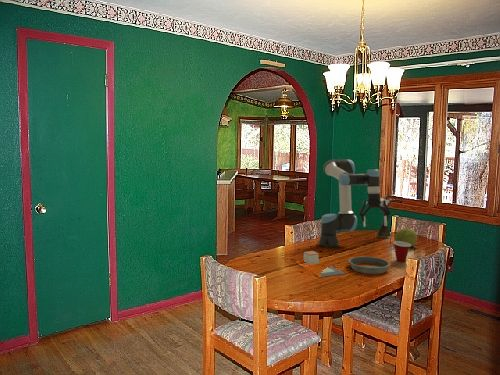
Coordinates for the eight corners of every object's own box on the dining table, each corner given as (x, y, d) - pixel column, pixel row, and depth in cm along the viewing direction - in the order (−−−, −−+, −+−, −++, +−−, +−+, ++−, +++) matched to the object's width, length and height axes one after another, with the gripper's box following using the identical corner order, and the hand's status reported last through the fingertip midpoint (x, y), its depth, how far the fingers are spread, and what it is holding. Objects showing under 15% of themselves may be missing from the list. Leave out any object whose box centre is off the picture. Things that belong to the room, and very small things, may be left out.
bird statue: (383, 240, 333) (385, 196, 328) (370, 237, 343) (371, 194, 339) (396, 237, 342) (398, 194, 338) (382, 234, 353) (384, 192, 349)
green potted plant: (391, 247, 313) (390, 227, 318) (401, 251, 321) (400, 231, 327) (412, 244, 301) (410, 223, 307) (421, 248, 310) (420, 228, 316)
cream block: (303, 262, 273) (303, 251, 272) (312, 261, 276) (313, 250, 275) (308, 265, 267) (309, 254, 266) (318, 264, 269) (318, 253, 268)
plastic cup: (408, 264, 271) (409, 245, 270) (391, 261, 277) (391, 243, 275) (411, 259, 280) (412, 242, 279) (394, 257, 286) (395, 240, 284)
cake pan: (396, 268, 262) (397, 261, 262) (376, 277, 245) (376, 270, 245) (362, 260, 280) (362, 253, 279) (340, 268, 263) (340, 261, 263)
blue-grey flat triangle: (291, 261, 276) (291, 260, 276) (315, 258, 283) (315, 258, 283) (319, 277, 245) (319, 277, 245) (345, 274, 252) (345, 273, 251)
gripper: (355, 193, 269) (357, 227, 268) (395, 192, 269) (396, 226, 268) (353, 193, 277) (354, 226, 276) (391, 192, 276) (392, 225, 276)
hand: (375, 226), depth 272 cm, fingers open, 13 cm apart
